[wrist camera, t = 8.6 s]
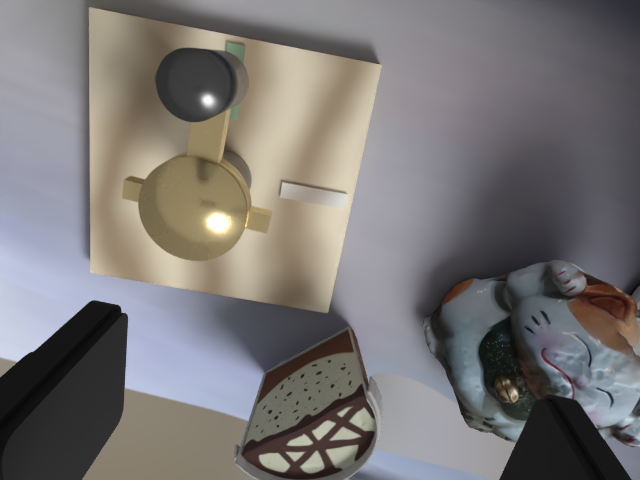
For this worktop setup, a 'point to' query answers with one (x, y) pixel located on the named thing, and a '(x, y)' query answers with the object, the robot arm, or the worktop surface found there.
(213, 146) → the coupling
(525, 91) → the worktop surface
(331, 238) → the post base
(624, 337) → the lucky cat figurine
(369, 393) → the food container
